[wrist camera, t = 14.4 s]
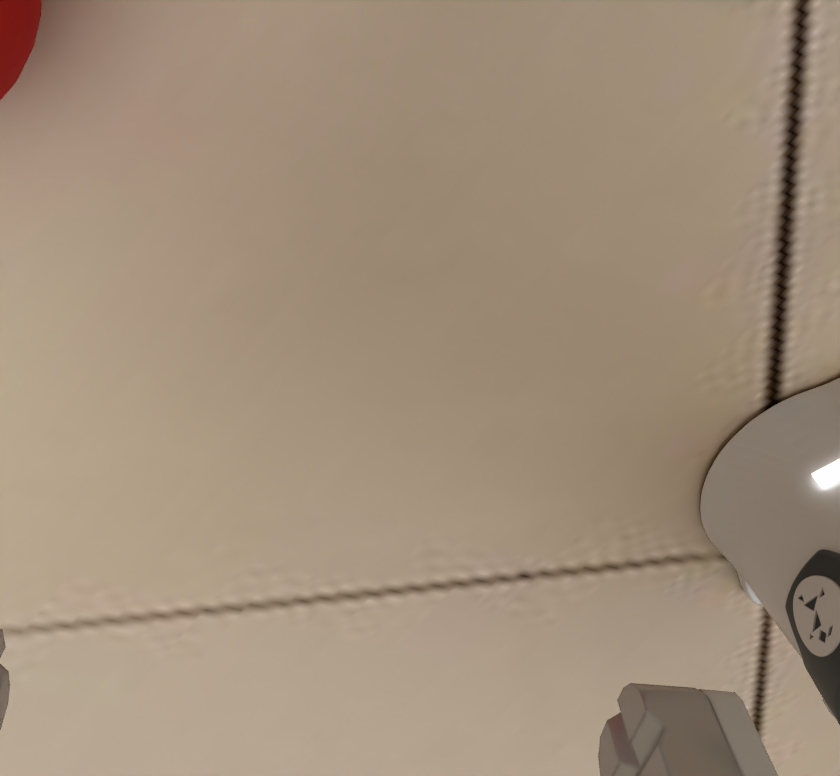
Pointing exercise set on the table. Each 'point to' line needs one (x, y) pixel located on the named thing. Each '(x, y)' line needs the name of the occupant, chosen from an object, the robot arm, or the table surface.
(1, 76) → the ceramic cup
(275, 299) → the table surface
